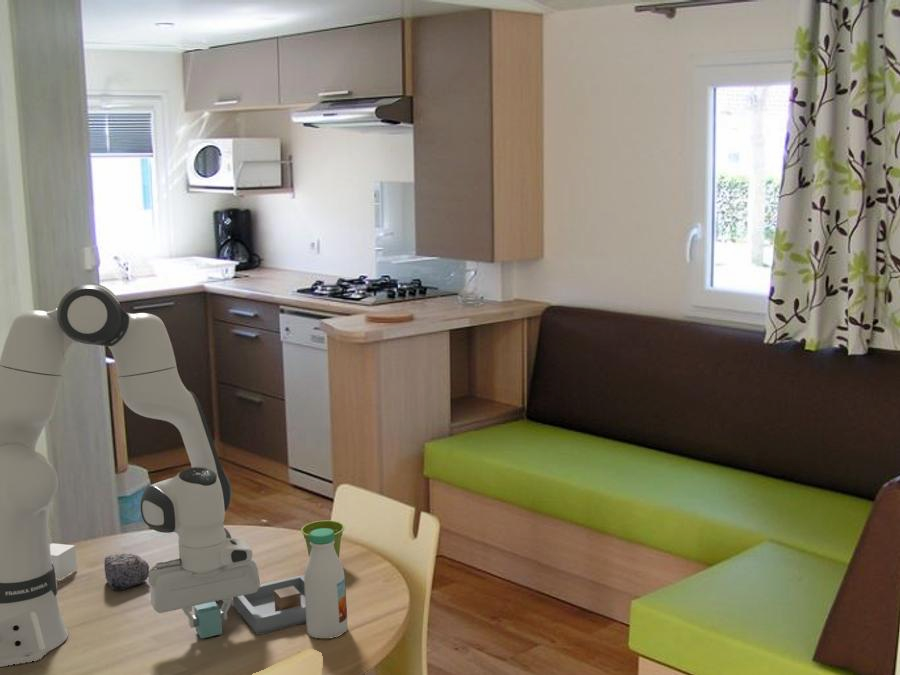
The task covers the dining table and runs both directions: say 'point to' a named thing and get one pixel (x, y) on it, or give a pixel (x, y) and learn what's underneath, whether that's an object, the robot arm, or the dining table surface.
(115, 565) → the pumice stone
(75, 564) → the white cube
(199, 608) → the teal block
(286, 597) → the walnut block
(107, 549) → the dining table surface
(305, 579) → the milk bottle
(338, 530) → the plant pot
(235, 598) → the tray
